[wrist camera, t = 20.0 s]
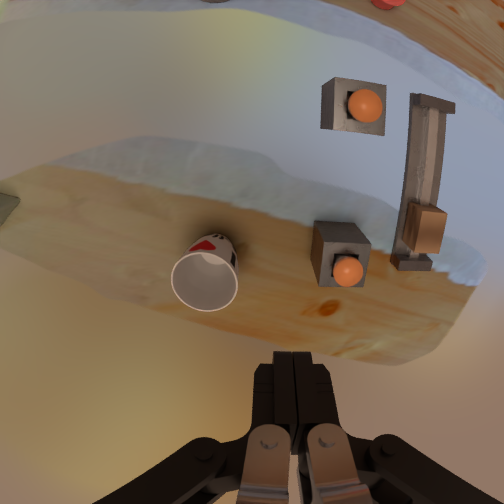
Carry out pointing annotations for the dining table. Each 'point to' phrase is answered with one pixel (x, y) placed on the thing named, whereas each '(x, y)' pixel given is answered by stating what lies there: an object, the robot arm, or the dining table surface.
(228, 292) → the cup
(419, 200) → the rail
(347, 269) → the plunger
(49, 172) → the dining table surface
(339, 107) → the cabinet
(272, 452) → the robot arm
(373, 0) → the figurine
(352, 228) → the cabinet
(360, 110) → the plunger
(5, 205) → the planter
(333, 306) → the dining table surface
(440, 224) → the carriage
